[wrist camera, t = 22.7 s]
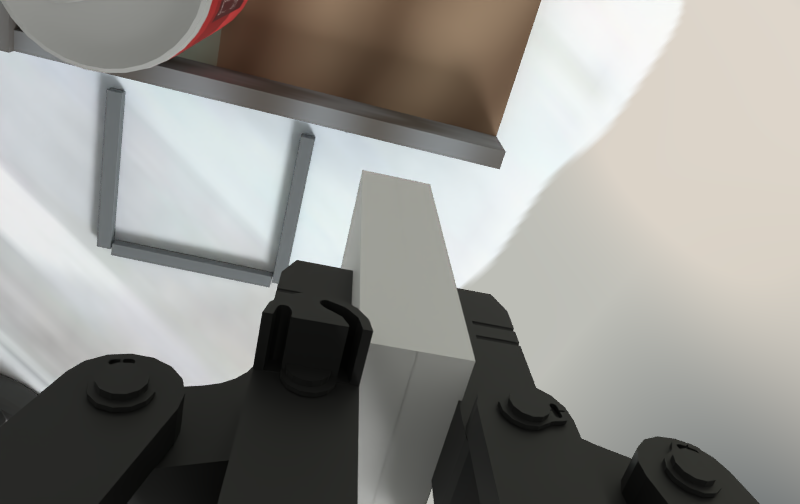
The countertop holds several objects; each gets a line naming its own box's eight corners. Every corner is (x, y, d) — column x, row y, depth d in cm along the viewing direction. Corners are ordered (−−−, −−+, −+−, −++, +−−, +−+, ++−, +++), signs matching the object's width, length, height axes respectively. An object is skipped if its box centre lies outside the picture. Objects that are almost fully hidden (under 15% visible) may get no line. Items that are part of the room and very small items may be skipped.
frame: (100, 247, 41) (96, 251, 40) (110, 87, 37) (106, 89, 36) (284, 285, 43) (282, 290, 42) (315, 136, 38) (314, 139, 38)
